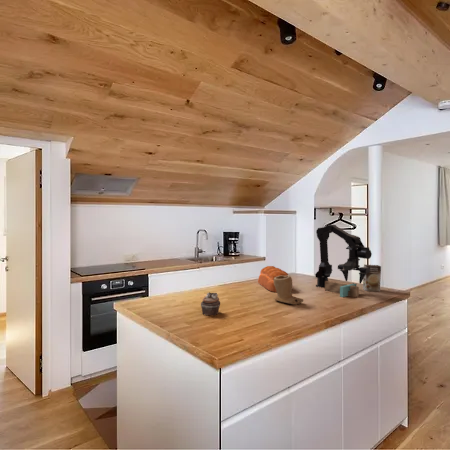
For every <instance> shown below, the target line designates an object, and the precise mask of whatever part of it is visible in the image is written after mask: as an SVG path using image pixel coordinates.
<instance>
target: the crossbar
mask: <svg viewBox="0 0 450 450" xmlns="http://www.w3.org/2000/svg"><path fill="white" fill-rule="evenodd" d="M350 286H357V283H350V284H347V285H345V286H341V287H340V294H339V297H341V298H346V297H348V291H350ZM357 287H358V286H357Z"/></svg>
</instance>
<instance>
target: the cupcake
mask: <svg viewBox="0 0 450 450" xmlns="http://www.w3.org/2000/svg"><path fill="white" fill-rule="evenodd" d="M218 295H219V294H218V293H217V292H207V293H206V296H204V297H203V299H202V302H200V307H201V311H202V312H201V313H202V315H204V314H205V315H204V316H208V315H213V316H217V315H218V314H219V312H220V311H219V309H220V306H221V301H220V298H219V297H218ZM216 314H217V315H216Z"/></svg>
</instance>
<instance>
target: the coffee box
mask: <svg viewBox="0 0 450 450" xmlns="http://www.w3.org/2000/svg"><path fill="white" fill-rule="evenodd" d="M363 267H369V268H370V272H369V273H367V274H366V275H365V277H364V278H363V280H362V289H363V290H364V291H365V292H381V283H382V282H381V275H382V266H381V265H379V264H363Z"/></svg>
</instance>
